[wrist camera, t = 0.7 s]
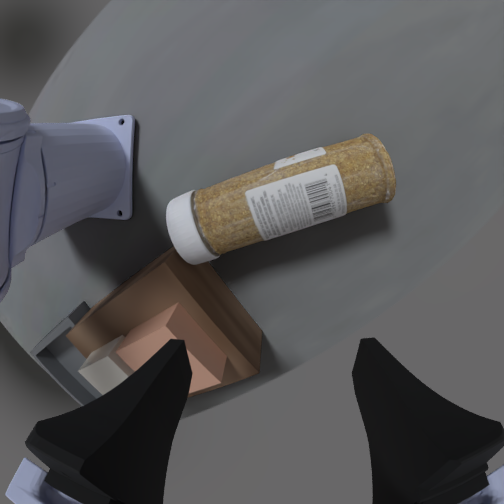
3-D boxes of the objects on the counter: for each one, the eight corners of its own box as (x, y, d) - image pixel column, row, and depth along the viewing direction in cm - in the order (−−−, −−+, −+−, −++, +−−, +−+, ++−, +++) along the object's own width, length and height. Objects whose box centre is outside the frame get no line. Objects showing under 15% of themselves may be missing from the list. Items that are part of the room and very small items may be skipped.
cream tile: (122, 334, 17) (107, 356, 15) (166, 379, 19) (157, 402, 16) (91, 352, 19) (78, 371, 16) (131, 391, 20) (121, 410, 18)
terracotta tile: (178, 302, 16) (165, 325, 14) (226, 356, 17) (221, 382, 15) (130, 330, 17) (115, 352, 15) (175, 376, 19) (166, 399, 16)
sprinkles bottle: (364, 119, 14) (165, 186, 17) (402, 161, 12) (159, 240, 14) (367, 171, 18) (197, 227, 20) (396, 216, 15) (198, 278, 18)
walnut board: (188, 235, 20) (164, 262, 15) (262, 331, 22) (259, 373, 18) (92, 307, 23) (65, 335, 18) (156, 375, 26) (140, 409, 21)
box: (84, 301, 23) (68, 316, 20) (159, 382, 26) (151, 402, 23) (41, 339, 27) (29, 352, 24) (100, 400, 30) (91, 415, 27)
